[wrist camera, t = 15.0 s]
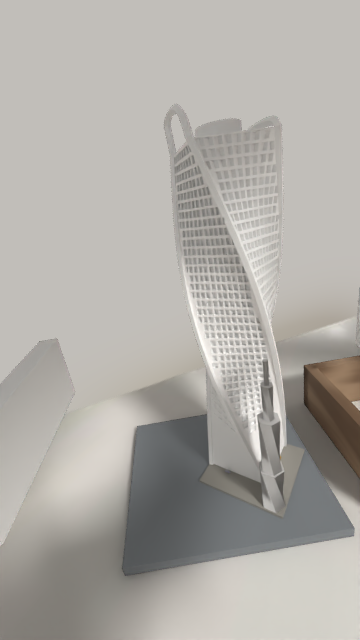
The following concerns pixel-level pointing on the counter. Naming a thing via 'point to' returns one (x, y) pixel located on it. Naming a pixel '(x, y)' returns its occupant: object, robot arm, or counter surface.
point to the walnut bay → (336, 403)
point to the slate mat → (213, 504)
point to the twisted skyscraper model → (235, 298)
